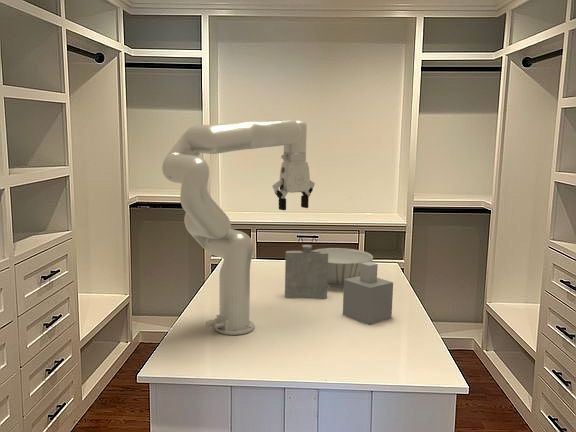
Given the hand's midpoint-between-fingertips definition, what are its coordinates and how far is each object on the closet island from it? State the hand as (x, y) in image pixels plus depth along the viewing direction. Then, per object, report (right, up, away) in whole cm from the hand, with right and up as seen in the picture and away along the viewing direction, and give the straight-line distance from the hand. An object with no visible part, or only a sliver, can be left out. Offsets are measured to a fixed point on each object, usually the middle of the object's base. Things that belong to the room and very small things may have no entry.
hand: (293, 208), depth 191 cm
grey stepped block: (+25, -37, +2) cm, 45 cm away
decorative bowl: (+19, -31, +42) cm, 55 cm away
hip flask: (+5, -33, +23) cm, 41 cm away
